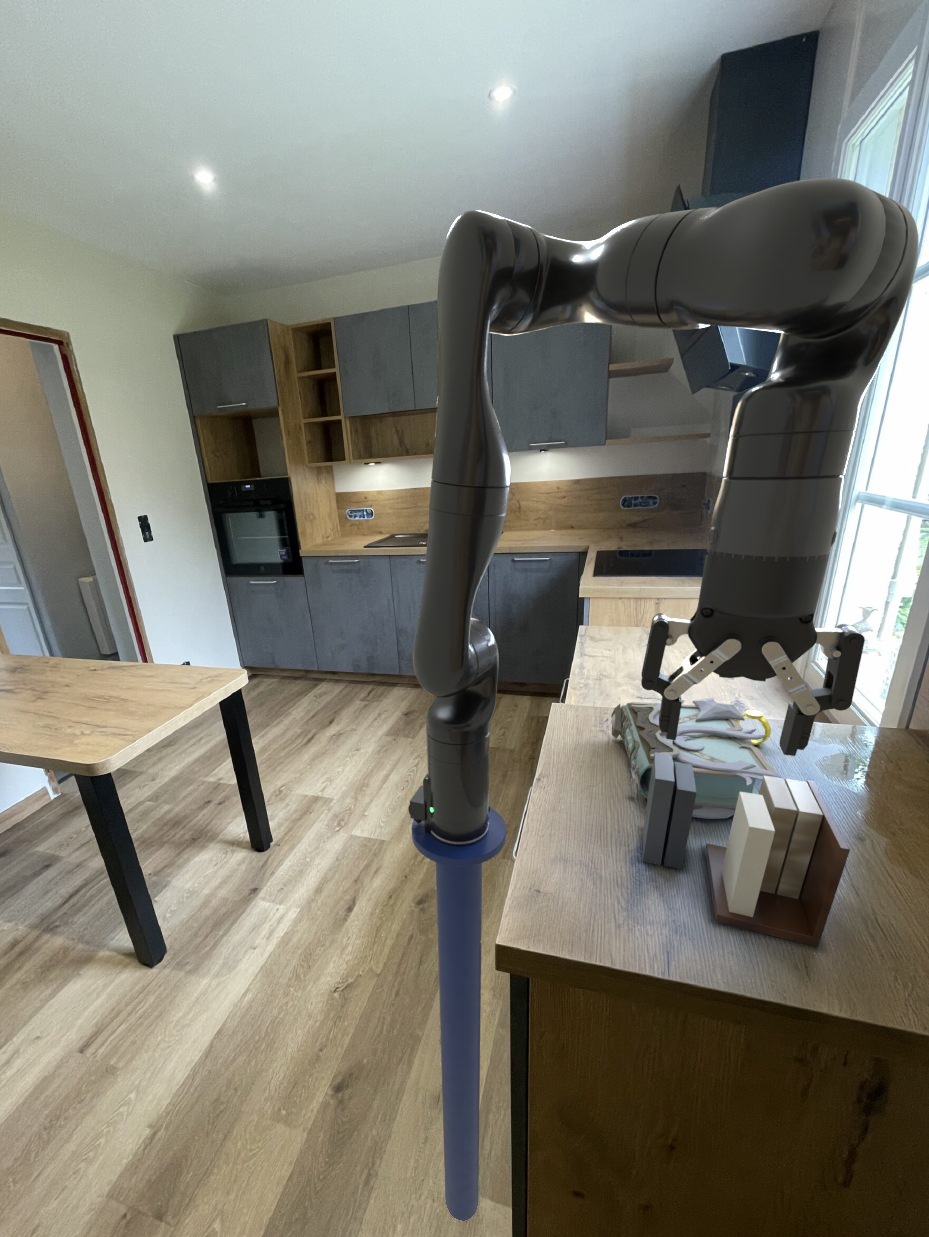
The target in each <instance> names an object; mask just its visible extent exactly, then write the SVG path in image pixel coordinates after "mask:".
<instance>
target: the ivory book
mask: <svg viewBox="0 0 929 1237" xmlns="http://www.w3.org/2000/svg"><path fill="white" fill-rule="evenodd" d="M774 834H775V829H774V826H773V824H772V821H771V818H770V815H769V812H768V809H767V806H766V804H765V801H764V798H763V795H758V794H752V793H746V792H739V796H738V800H737V805H736V809H735V814H733V818H732V822H731V828H730V832H729V836H728V840H727V845H726V847H727V850H726V854H725V859H724V863H723V868H722V876H723V881H724V886H725V892H726V897H727V903H728V908H729V912H732V913H737V914H741V915H745V916H750V917H753V915H754V911H755V907H756V903H757V899H758V895H759V892H760V888H761V884H762V880H763V876H764V872H765V869H766V865H767V861H768V857H769V853H770V849H771V845H772V842H773V838H774Z"/></svg>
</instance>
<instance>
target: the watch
mask: <svg viewBox="0 0 929 1237" xmlns="http://www.w3.org/2000/svg"><path fill="white" fill-rule="evenodd" d="M741 715H742V716H743V717H747V719H751V720H758V721H759V722H760V723H761V724H762V726H763V728H764V735H767V736H766V737H764V738H762V739H760V740H751V741H752V742H753V743H754V746H758V745H761V744H763V743H765V742H766V741H768V740H769V738H770V736H771V730H772V728H771V725H770V723H769V721H768V720H767V719H766V718H765V717H764V713H763V712H761V711H758V710H753V709H749V710H748V709H747V710H746V711H745V712H744V713H742V714H741ZM736 721H737V722H738V724H739V725H740V722H741V720H736Z"/></svg>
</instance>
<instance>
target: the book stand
mask: <svg viewBox="0 0 929 1237" xmlns="http://www.w3.org/2000/svg"><path fill="white" fill-rule="evenodd" d="M783 778H784V777H783ZM783 778H777V777H770V776H763V778H762V781H761V782H760V786H759V795H763V798H764V801H765V804H766V806H767V809H768V812H769V815H770V818H771V821H772V824H773V826H774V829H775V834H774V838H773V842H772V845H771V849H770V853H769V857H768V861H767V865H766V869H765V872H764V876H763V880H762V884H761V888H760V892H759V895H758V899H757V903H756V907H755V911H754V915H753V917H750V916H745V915H741V914H737V913H732V912H729V908H728V903H727V897H726V892H725V886H724V881H723V876H722V868H723V863H724V859H725V854H726V850H727V846H722V845H718V844H712V843H706V844H705V848H704V852H705V858H706V860H705V861H706V866H707V872H708V879H709V880H708V881H709V886H710V893H711V900H712V905H713V907H712V908H713V914H714V919H715V923H717V924H721V925H724V926H725V925H726V926H730V927H734V928H737V929H738V928H739V929H743V930H747V931H751V932H755V933H760V934H764V935H767V936H772V937H776V938H780V939H784V940H788V941H792V942H796V943H801V944H805V945H809V946H814V947H817V948H818V947H819V946H820V942H821V939H822V937H823V933H824V931H825V927H826V924H827V922H828V918H829V915H830V913H831V909H832V906H833V903H834V900H835V898H836V894H837V891H838V887H839V885H840V883H841V878H842V876H843V873H844V870H845V866H846V863H847V860H848V857H849V855H850V851H851V849H850V846H849V845H848V843H847V841H846V839H845V837H844V836H843V833H842V832H841V830H840V828H839V826H838V823H837V821H836V820H835V818H834V816H833V814H832V812H831V809H830V808H829V807H828V805H827V803H826V801H825V798H824V797H823V795H822V793H821V791H820V789H819V786H817V784H816V781H814V780H811V779H810V780H809V779H807V780H806V781H803V780H797V779H791V778H784V779H785V781H784V779H783Z"/></svg>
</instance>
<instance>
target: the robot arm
mask: <svg viewBox="0 0 929 1237" xmlns="http://www.w3.org/2000/svg"><path fill="white" fill-rule="evenodd" d="M918 231H919V230H918V226H917V223H916V220H915V218H914V217H913V214H912V213H911V212H910V210H909V209H908V208H907V207H906V206H904V205H903V204H902V203H899V201H897V200H894V199H892V198H890V197H887V196H886V195H884V194H882V193H879V192H877V191H875V190H874V189H871V188H869V187H867V186H866V185H864V184H861V183H859V182H856V181H854V180H851V179H846V178H839V177H821V178H820V177H819V178H818V177H817V178H809V179H802V180H795V181H789V182H786V183H781V184H778V185H775V186H771V187H768V188H765V189H762V190H760V191H757V192H755V193H752V194H749V195H746V196H743V197H741V198H738V199H735V200H732V201H730V202H728V203H726V204H724V205H722V206H711V207H700V208H692V209H686V210H678V211H670V212H664V213H657V214H652V215H647V216H642V217H639V218H636V219H633V220H632V219H631V220H629V221H627V222H625V223H623V224H621V225H619V226H617V227H615V228H613V229H612V230H610V231H609V232H608V233H607V234H605V235H604V236H602V237H600V238H597V239H595V240H588V241H577V240H576V241H575V240H569V239H564V238H558V237H554V236H550V235H547V234H545V233H542V232H539V231H538V230H537V229H536V228H533V227H532V226H530V225H527V224H525V223H521V222H518V221H514V220H512V219H508V218H505V217H503V216H500V215H497V214H494V213H490V212H486V211H483V210H478V209H470V210H465V211H464V212H463V213H461V214H460V215H459V216H457V218H456V219H455V220H454V222H453V223H452V224H451V226H450V228H449V230H448V233H447V235H446V238H445V241H444V245H443V247H442V252H441V257H440V262H439V269H438V279H437V296H436V297H437V298H436V304H437V305H436V308H437V309H436V311H437V312H436V313H437V315H436V317H437V318H436V321H437V323H436V324H437V329H436V331H437V393H436V395H437V397H436V417H435V433H434V434H435V435H434V449H433V458H432V467H431V480H430V492H429V504H428V506H429V507H428V527H427V529H428V531H427V542H426V551H425V552H426V553H425V561H424V562H425V563H424V575H423V586H422V587H423V588H422V593H421V598H420V599H421V600H420V606H419V612H418V616H417V623H416V628H415V632H414V633H415V634H414V638H413V644H412V666H413V671H414V675H415V677H416V679H417V681H418V684H419V685H420V686H421V688H422V689H423V690H424V691H425V692H426V693H427V694H429V695H431V696H433V697H435V699H434V700H433V702H432V703H431V705H430V707H429V708H428V710H427V712H426V714H425V731H426V732H425V734H426V764H427V774H426V775H425V776H424V778H423V780H422V785H420V786H419V787H418V788H417V790H416V791H415V793H414V795H412V797H411V798H410V800H409V805H408V809H407V810H408V814H409V815H410V816H409V817H410V819H412V820H415V821H416V822H417V824H419V823H420V822H422V821H424V824H425V832H426V833H429V834H431V835H432V836H433V837H434V838H435V839H436V840H438V841H439V842H441V843H444V844H447V845H451V846H468V845H472V844H475V843H477V842H479V841H481V840H482V839H483V838H484V837H485V836H486V835H487V833H488V830H489V815H488V812H489V813H490V807H491V806H490V804H489V803H490V802H489V800H490V797H489V796H490V745H491V744H490V741H491V738H490V737H491V736H490V734H491V732H490V731H491V721H492V718H493V715H494V713H495V710H496V706H497V695H498V694H497V693H498V680H499V649H498V644H497V641H496V637H495V635H494V633H493V632H492V630H491V629H490V628H489V626H488V625H486V624H485V623H484V622H483V621H481V620H479V619H477V618H474V617H472V614H473V607H474V603H475V599H476V595H477V592H478V589H479V587H480V584H481V582H482V580H483V577H484V575H485V574H486V571H487V569H488V567H489V565H490V563H491V560H492V559H493V556H494V554H495V552H496V549H497V547H498V546H499V542H500V540H501V537H502V534H503V530H504V527H505V522H506V517H507V510H508V503H509V494H510V487H511V486H510V485H511V480H512V479H511V478H512V477H511V476H512V466H511V460H510V459H511V458H510V455H509V454H510V453H509V451H508V447H507V443H506V440H505V438H504V434H503V432H502V429H501V426H500V424H499V420H498V417H497V415H496V412H495V409H494V406H493V404H492V403H493V402H492V398H491V394H490V390H489V383H488V353H489V352H488V351H489V349H488V348H489V335H490V334H496V335H500V336H516V335H517V336H518V335H521V334H527V333H531V332H536V331H541V330H546V329H549V328H554V327H558V326H565V325H573V324H598V325H609V326H618V327H625V328H626V327H627V328H637V329H654V330H655V329H658V330H660V329H661V330H676V331H680V330H681V331H682V330H683V331H684V330H685V331H687V330H696V329H697V330H698V329H702V328H703V329H704V328H707V327H710V326H716V327H727V328H728V327H729V328H738V329H748V330H757V331H765V332H771V333H772V332H774V333H778V334H780V337H779V341H778V345H777V349H776V351H775V354H774V357H773V360H772V362H771V366H770V368H769V371H768V375H767V377H766V380H765V381H764V382H762V383H759V384H757V385H755V386H753V387H751V388H750V389H748V390H747V391H746V392H745V393H744V394H743V395H742V397H740V399H739V401H738V403H737V405H736V407H735V410H734V414H733V416H732V420H731V426H730V432H729V439H728V443H727V444H728V445H727V451H726V457H725V462H724V469H723V474H722V476H723V478H722V480H721V484H720V488H719V492H718V496H717V498H716V501H715V503H714V504H715V505H714V508H713V511H712V512H713V513H712V517H711V523H710V528H709V534H708V541H707V548H706V553H705V560H704V565H703V571H702V578H701V584H700V585H701V586H700V589H699V596H698V601H697V602H698V603H697V606H696V607H697V608H696V610H695V612H694V614H693V615H692V616H691V618H690V619H684V618H683V619H682V618H673V617H668V616H667V614H666V613H664V612H663V613H662V612H659V613H656V614H655V615H653V617H652V619H651V624H650V628H649V633H648V639H647V644H646V649H645V654H644V658H643V664H642V670H641V681H640V682H641V683H640V684H641V687H642V689H644V690H646V691H654V692H655V693H657V694H660V696H661V699H662V701H661V700H660V703H661V708H660V714H659V727H660V730H661V732H666V739H670V740H676V735H677V729H678V723H679V717H680V711H681V705H683V703H682V700H683V699H682V696H683V694H685V693H686V692H687V691H688V690H689V689H690V688H692V687H693V686H694V685H698V684H700V683H701V682H703V681H704V680H705V679H706V678H708V676H709V675H711V674H712V673H714V674H715V675H718V677H719V678H722V679H723V678H724V679H735V678H745V679H748V680H752V681H753V682H754V681H755V682H766V681H767V680H768V679H772V678H775V677H776V676H777V677H778V679H779V681H781V683H782V684H783V686H784V687H785V690H786V691H787V692H788V694H789V696H791V698H792V700H793V702H788V705H787V709H786V713H785V718H784V722H783V725H782V729H781V733H780V737H779V747H780V749H781V752H782V754H783V755H784V756H785V755H786V756H792V757H795V756H796V755H797V753H798V750H799V751H804V750H805V749H806V747H807V746H808V745H809V742H810V737H811V734H812V730H813V726H814V724H815V719H816V716H817V715H818V714H819V713H821V712H824V711H828V710H836V711H841V712H842V711H846V710H848V709H849V708H850V707H851V705H852V703H853V698H854V693H855V689H856V684H857V679H858V675H859V670H860V665H861V660H862V657H863V656H862V655H863V650H864V645H865V641H866V640H865V636H864V635H863V634H861V633H860V632H859V631H858V630H856V628H854V627H853V626H852V625H850V624H848V623H840V624H838V625H836V626H835V627H833V628H832V627H816V626H815V623H814V618H815V614H816V611H817V607H818V603H819V599H820V594H821V591H822V586H823V582H824V578H825V575H826V571H827V566H828V562H829V558H830V555H831V551H832V547H833V545H834V544H835V542H836V539H837V534H838V531H837V527H838V526H837V525H838V523H839V517H840V514H841V506H842V493H843V486H844V479H845V478H844V475H845V474H846V470H847V466H848V461H849V458H850V454H851V451H852V445H853V442H854V437H855V434H856V432H855V431H856V429H857V424H858V419H859V413H860V409H861V404H862V402H863V399H864V396H865V394H866V392H867V390H868V388H869V386H870V384H871V382H872V380H873V379H874V377H875V375H876V373H877V371H878V369H879V367H880V364H881V362H882V361H883V358H884V355H885V353H886V351H887V349H888V346H889V344H890V342H891V339H892V337H893V335H894V333H895V330H896V328H897V326H898V324H899V321H900V319H901V317H902V314H903V312H904V308H905V307H906V304H907V302H908V298H909V296H910V292H911V289H912V286H913V283H914V279H915V274H916V269H917V263H918V256H919V232H918ZM489 333H490V334H489ZM683 635H687V636H688V638H689V640H690V642H691V643H692V645H693V646H694V648H695V649H694V650H693V651H691V653H689V654H688V655H687V656H685V658H683V660H682V661H681V663H680V664H679V665H678V666H677V667H676V668H675V669H674V670H672V671H671V672H670V673H669V674H668V675H667V674H666V673H662V672H661V668H662V664H663V659H664V655H665V651H666V647H667V646H668V647H669V646H670V647H671V646H674V645H675V644H676V643H677V641H678V640H679V638H680V637H681V636H683ZM816 644H817V645H820V651H821V652H822V654H823V655H824V656H825V657H826V658H827V663H826V668H825V672H824V678H823V684H822V687H819V688H813V689H810V688H809V687H808V685H807V684H806V682H805V681H804V679H803V678H802V676H801V674H800V673H799V672H798V670H797V669H796V667H795V665H794V663H795V662H796V661H797V660H798V659H799V658H801V657H802V656H803V655H804V654H806V653H807V652H808V651H810V650H811V649H812V648H813V647H814V646H815V645H816Z"/></svg>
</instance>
